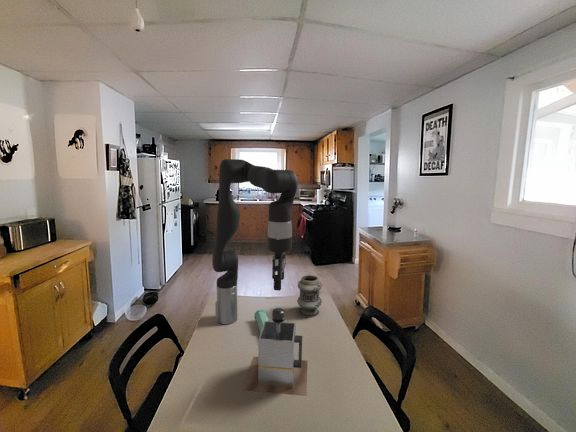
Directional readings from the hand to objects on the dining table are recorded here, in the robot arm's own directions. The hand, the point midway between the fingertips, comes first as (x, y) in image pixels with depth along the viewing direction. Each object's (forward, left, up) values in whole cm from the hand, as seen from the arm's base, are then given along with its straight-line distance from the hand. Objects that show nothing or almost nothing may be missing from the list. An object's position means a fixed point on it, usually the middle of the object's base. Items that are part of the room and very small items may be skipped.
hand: (279, 284), depth 88 cm
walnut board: (0, 0, -33) cm, 33 cm away
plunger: (0, 0, -26) cm, 26 cm away
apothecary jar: (+10, +46, -34) cm, 58 cm away
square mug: (+1, 0, -32) cm, 32 cm away
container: (-8, +24, -34) cm, 42 cm away
